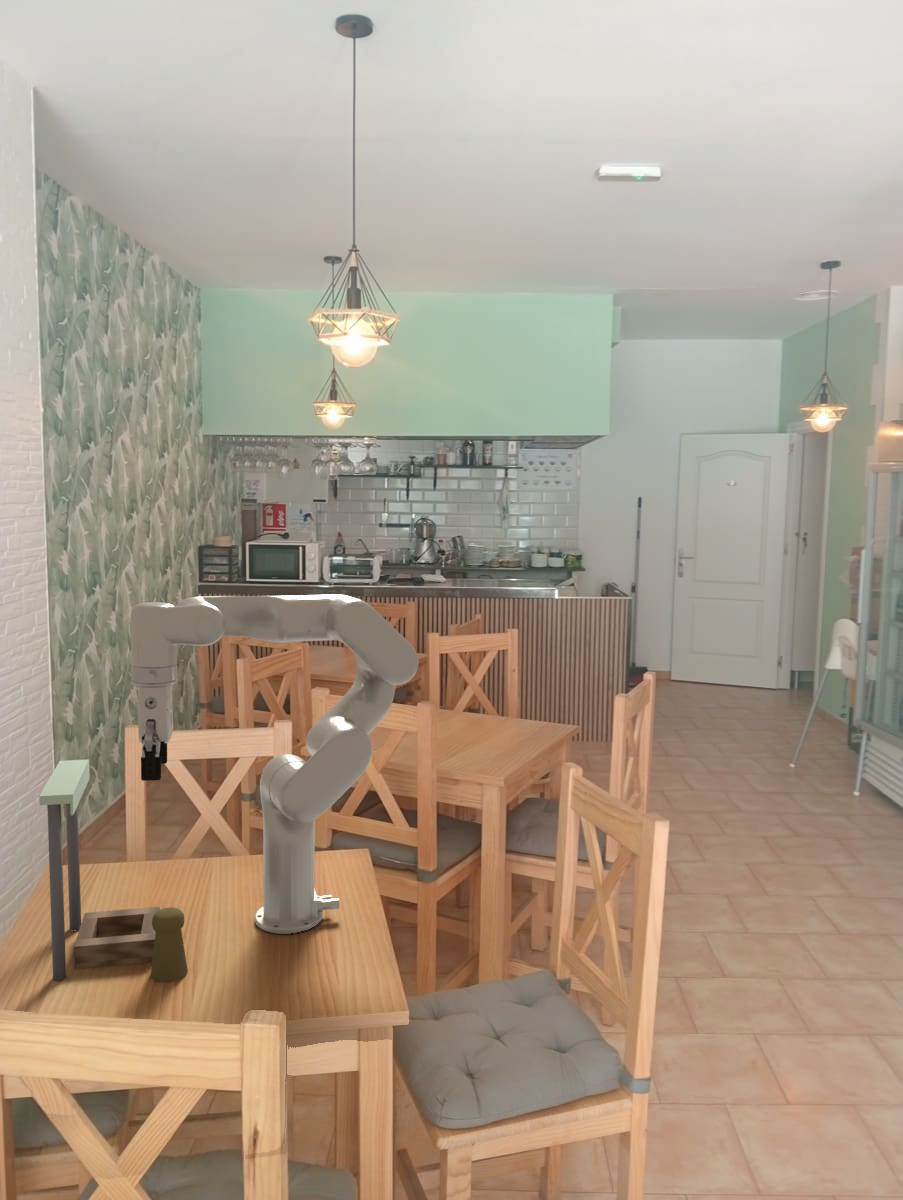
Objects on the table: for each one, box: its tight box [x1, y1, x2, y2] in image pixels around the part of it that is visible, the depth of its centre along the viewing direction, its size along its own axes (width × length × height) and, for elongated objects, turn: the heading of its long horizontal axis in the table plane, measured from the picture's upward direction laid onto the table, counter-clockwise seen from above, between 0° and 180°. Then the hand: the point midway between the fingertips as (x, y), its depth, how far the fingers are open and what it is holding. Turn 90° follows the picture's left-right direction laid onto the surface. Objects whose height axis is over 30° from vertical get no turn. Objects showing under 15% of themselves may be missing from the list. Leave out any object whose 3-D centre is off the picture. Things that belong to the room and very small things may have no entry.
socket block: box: [73, 906, 161, 970], centre depth 167 cm, size 13×13×4 cm
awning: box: [39, 759, 91, 982], centre depth 164 cm, size 5×20×32 cm, turn 14°
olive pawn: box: [149, 906, 189, 984], centre depth 158 cm, size 6×6×11 cm
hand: (154, 771), depth 165 cm, fingers open, 9 cm apart
